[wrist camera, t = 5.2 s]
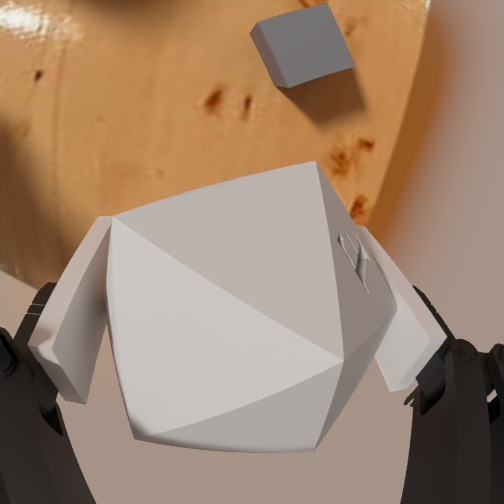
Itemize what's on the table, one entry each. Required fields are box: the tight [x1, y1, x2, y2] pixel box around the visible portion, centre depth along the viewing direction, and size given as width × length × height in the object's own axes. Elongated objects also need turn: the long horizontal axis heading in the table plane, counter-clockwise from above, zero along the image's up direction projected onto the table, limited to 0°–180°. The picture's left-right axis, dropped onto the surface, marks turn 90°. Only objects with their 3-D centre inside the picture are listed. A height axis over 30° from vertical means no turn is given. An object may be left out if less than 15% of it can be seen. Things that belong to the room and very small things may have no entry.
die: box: [105, 161, 398, 453], centre depth 9 cm, size 8×9×10 cm
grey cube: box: [250, 3, 354, 88], centre depth 17 cm, size 5×5×5 cm
